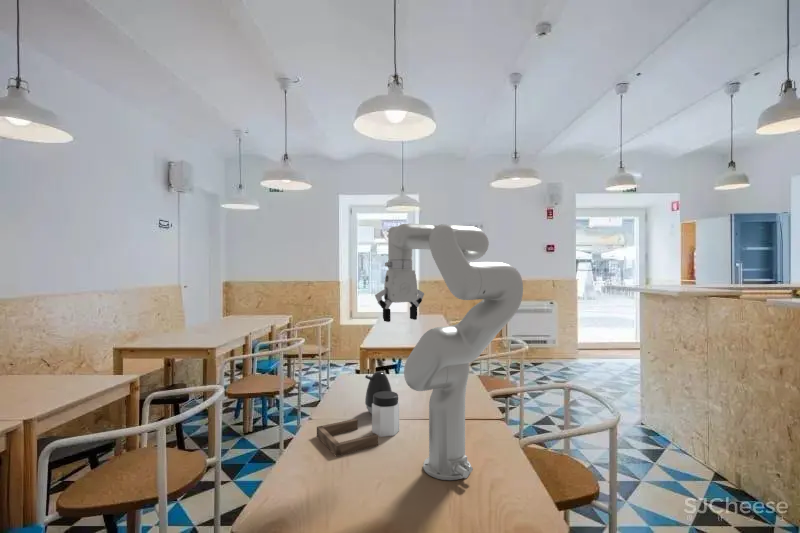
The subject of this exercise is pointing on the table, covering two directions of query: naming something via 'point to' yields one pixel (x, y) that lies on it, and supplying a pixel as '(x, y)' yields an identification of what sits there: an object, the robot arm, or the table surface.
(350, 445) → the walnut bay
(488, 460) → the table surface
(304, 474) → the table surface
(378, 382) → the pump dispenser
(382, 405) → the jar
